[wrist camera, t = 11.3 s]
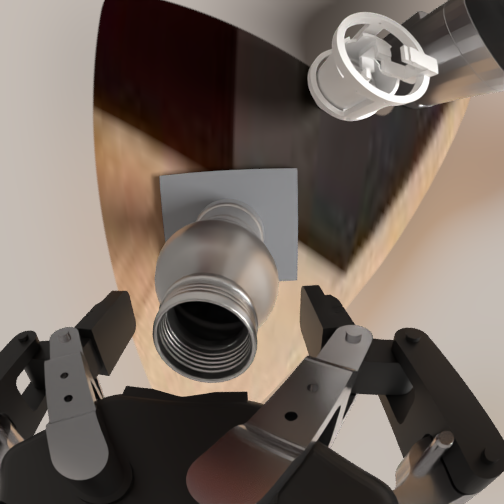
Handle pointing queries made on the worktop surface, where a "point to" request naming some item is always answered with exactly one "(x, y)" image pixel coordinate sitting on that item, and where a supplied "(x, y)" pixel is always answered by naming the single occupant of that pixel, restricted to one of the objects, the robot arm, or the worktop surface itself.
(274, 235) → the board
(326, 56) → the white cylindrical piece
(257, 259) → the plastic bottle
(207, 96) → the worktop surface
